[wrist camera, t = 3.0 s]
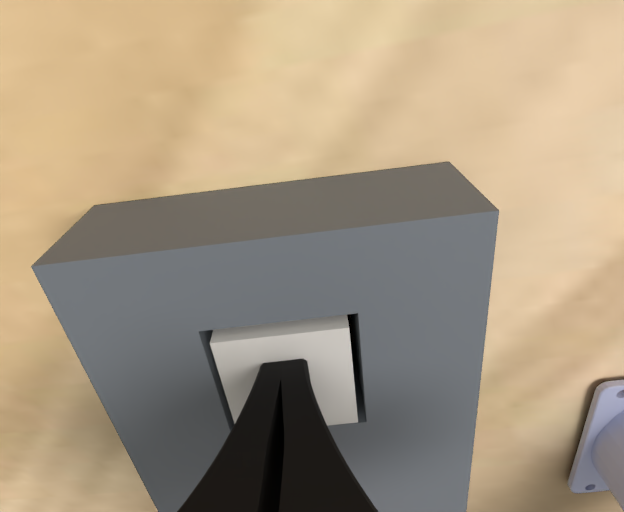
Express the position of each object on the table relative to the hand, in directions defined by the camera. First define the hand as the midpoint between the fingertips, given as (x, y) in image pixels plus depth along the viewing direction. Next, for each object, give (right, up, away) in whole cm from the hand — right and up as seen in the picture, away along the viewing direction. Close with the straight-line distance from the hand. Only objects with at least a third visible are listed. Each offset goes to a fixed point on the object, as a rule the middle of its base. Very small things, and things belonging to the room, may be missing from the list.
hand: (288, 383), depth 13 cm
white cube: (0, +2, +3) cm, 4 cm away
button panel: (+1, -7, +9) cm, 12 cm away
